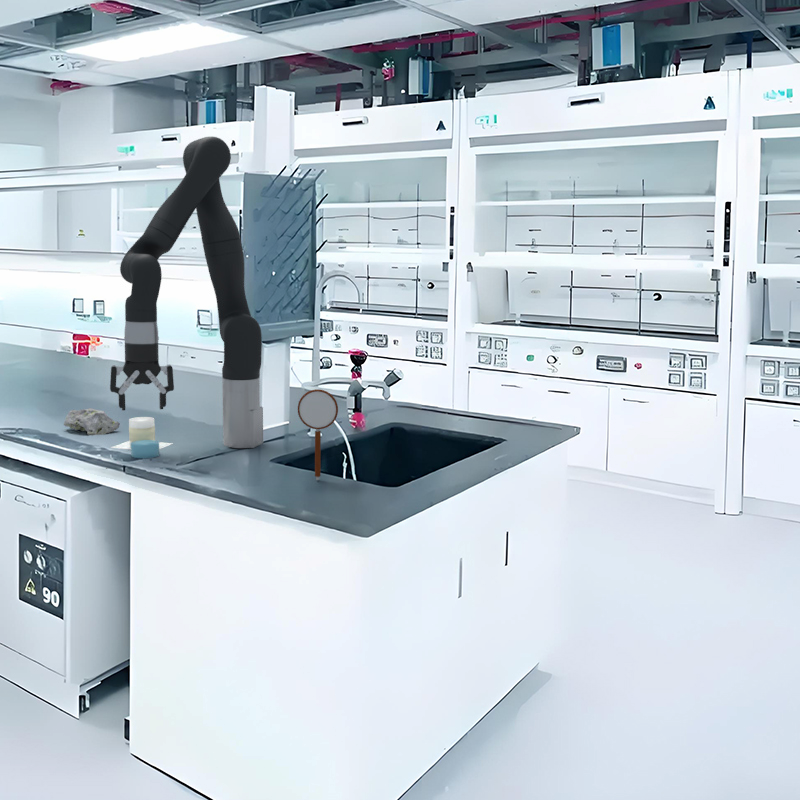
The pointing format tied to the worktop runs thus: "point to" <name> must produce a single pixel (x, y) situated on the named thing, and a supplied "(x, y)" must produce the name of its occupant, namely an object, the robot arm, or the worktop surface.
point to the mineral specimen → (91, 421)
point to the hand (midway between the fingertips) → (142, 409)
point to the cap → (145, 449)
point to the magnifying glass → (317, 417)
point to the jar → (141, 429)
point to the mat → (127, 446)
